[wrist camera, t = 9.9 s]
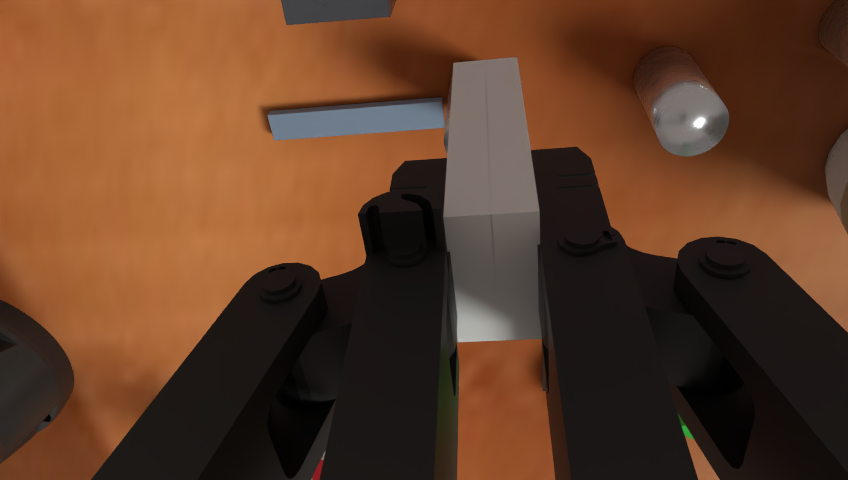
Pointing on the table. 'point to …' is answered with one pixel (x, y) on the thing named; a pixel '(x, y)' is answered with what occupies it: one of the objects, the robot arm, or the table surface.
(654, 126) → the spacers
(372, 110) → the blue-grey flat plate
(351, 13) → the speaker
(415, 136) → the table surface
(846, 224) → the coffee cup
